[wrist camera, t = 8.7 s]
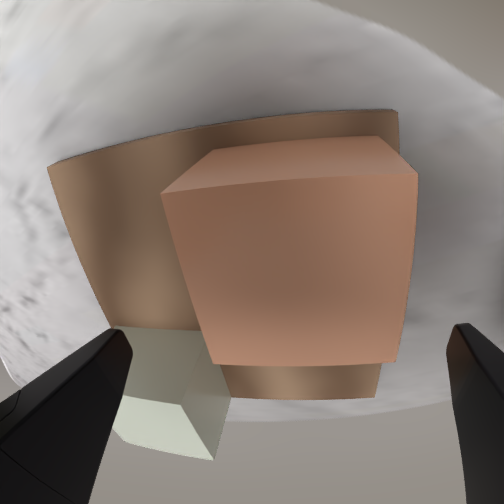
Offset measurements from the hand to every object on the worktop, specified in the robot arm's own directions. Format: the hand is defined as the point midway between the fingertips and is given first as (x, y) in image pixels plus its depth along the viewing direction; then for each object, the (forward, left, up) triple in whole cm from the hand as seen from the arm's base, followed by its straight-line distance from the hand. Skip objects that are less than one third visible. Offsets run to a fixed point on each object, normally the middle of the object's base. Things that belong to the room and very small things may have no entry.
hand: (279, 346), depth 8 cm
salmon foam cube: (0, 0, -8) cm, 8 cm away
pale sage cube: (+9, +11, -8) cm, 16 cm away
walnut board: (+4, +5, -9) cm, 11 cm away
